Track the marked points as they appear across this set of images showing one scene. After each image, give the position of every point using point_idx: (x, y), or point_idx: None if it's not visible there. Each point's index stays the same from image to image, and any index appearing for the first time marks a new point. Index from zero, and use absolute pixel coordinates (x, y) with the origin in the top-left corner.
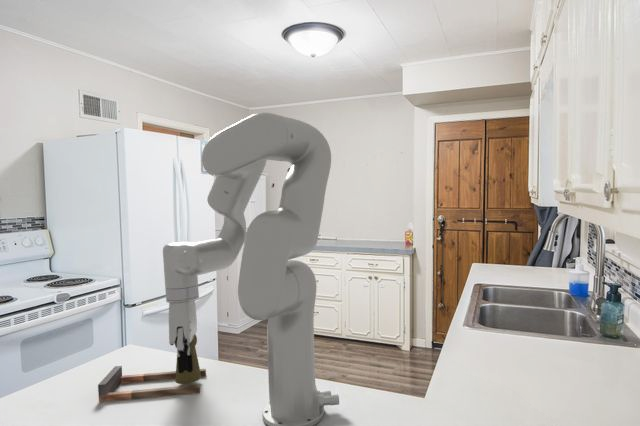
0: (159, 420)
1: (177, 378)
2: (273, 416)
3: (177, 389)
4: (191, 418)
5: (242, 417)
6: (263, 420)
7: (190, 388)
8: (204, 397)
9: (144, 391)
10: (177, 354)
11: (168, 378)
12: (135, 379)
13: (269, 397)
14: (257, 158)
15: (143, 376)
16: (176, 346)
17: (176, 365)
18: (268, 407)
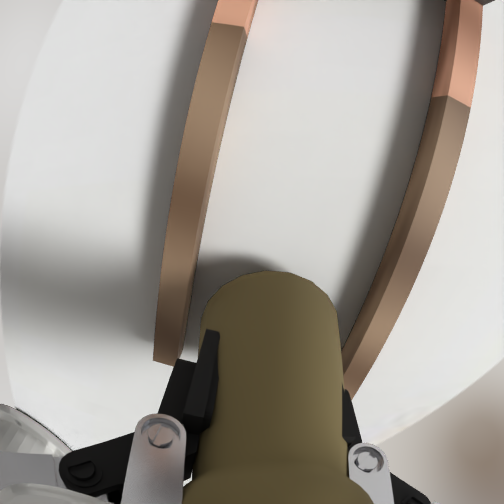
0: (4, 192)
1: (234, 295)
2: (3, 421)
3: (161, 274)
4: (7, 288)
5: (19, 386)
6: (8, 406)
7: (157, 328)
8: (122, 350)
9: (195, 93)
10: (256, 415)
11: (395, 227)
12: (445, 57)
13: (5, 446)
14: None
15: (446, 96)
16: (213, 489)
17: (262, 339)
18: (31, 432)
